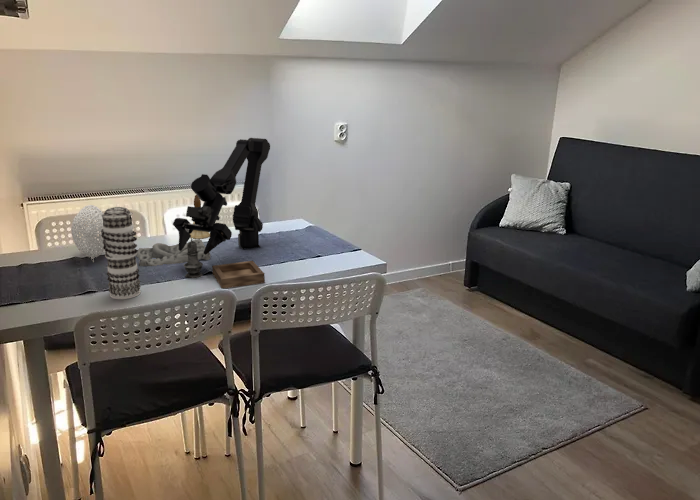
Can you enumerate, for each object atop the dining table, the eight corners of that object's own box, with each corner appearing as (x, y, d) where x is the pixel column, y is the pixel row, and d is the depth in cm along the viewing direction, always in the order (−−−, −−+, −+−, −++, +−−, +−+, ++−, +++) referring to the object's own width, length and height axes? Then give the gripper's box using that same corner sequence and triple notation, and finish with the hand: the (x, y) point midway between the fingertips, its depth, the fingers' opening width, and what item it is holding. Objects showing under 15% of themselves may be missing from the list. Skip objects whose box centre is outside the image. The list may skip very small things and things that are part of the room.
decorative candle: (100, 296, 171) (90, 211, 163) (123, 286, 179) (114, 203, 172) (126, 301, 168) (117, 214, 160) (148, 290, 176) (141, 207, 168)
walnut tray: (253, 269, 195) (252, 260, 194) (264, 282, 183) (264, 273, 182) (212, 274, 190) (212, 265, 189) (222, 288, 178) (221, 279, 177)
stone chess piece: (207, 274, 190) (205, 237, 186) (195, 279, 185) (193, 242, 181) (192, 271, 192) (190, 235, 189) (180, 276, 187) (177, 239, 184)
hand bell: (210, 238, 227) (208, 197, 222) (187, 239, 225) (184, 197, 220) (210, 232, 235) (208, 192, 230) (188, 233, 233) (186, 193, 228)
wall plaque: (203, 245, 220) (202, 235, 219) (212, 261, 203) (211, 250, 202) (134, 252, 212) (133, 241, 210) (138, 269, 195) (137, 258, 194)
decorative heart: (105, 265, 196) (100, 214, 191) (70, 267, 194) (63, 215, 189) (113, 248, 213) (108, 201, 208) (81, 250, 211) (75, 202, 206)
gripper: (174, 192, 189) (153, 235, 183) (225, 198, 183) (205, 242, 176) (190, 211, 198) (172, 253, 192) (239, 217, 192) (222, 260, 185)
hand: (192, 252), depth 186 cm, fingers open, 9 cm apart
